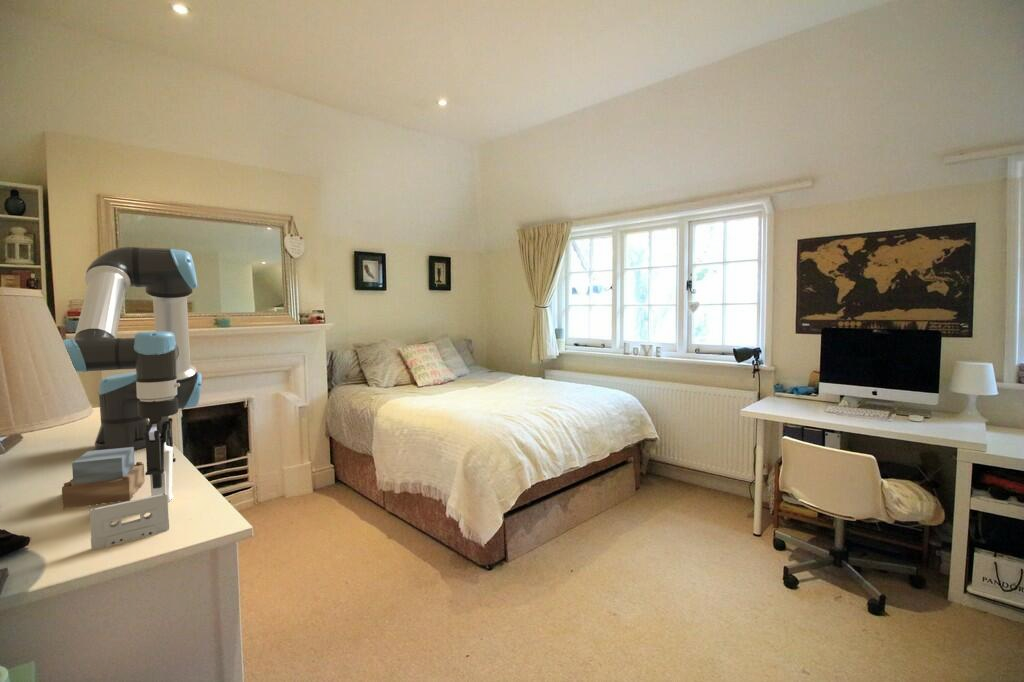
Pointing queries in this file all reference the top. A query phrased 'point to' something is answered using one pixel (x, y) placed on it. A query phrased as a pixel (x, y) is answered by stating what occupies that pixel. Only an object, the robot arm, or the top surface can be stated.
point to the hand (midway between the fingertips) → (162, 495)
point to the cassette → (130, 530)
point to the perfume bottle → (168, 469)
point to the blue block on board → (103, 478)
